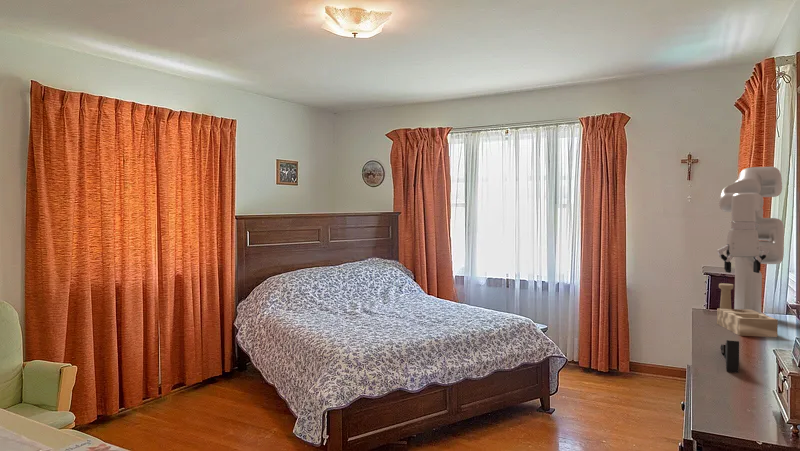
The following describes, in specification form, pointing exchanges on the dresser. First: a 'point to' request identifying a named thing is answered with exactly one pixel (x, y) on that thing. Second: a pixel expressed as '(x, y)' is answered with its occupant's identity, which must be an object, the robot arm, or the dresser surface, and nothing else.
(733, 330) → the socket block
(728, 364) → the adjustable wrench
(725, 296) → the handle
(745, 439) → the dresser surface
